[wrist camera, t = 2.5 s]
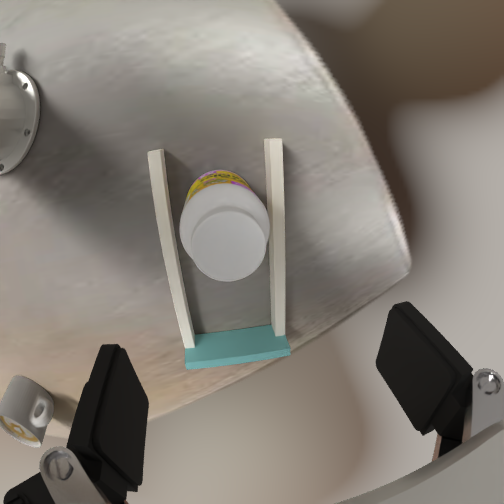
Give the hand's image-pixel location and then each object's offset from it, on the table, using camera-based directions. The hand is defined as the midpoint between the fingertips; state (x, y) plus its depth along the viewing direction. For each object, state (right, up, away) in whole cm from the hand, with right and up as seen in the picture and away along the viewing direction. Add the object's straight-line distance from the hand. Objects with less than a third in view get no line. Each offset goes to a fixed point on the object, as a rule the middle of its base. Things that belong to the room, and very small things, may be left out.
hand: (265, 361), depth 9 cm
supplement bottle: (-4, +9, +20) cm, 22 cm away
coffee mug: (-41, -23, +28) cm, 54 cm away
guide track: (-3, +3, +23) cm, 23 cm away
